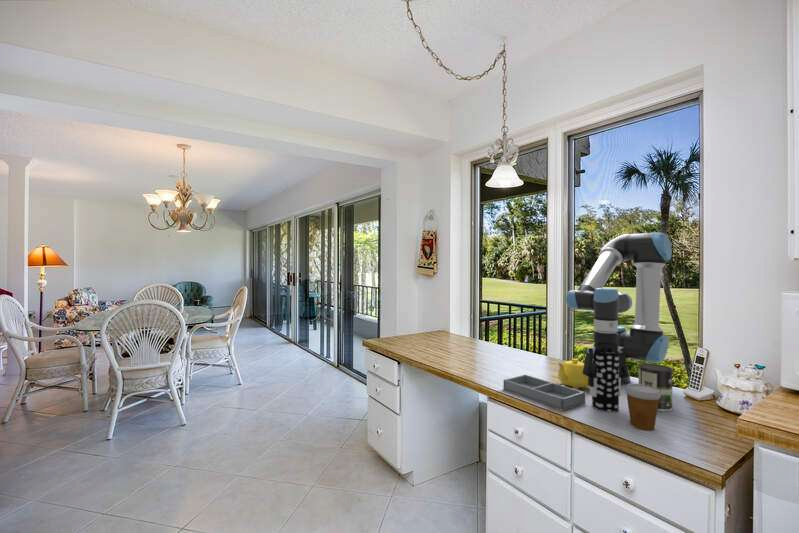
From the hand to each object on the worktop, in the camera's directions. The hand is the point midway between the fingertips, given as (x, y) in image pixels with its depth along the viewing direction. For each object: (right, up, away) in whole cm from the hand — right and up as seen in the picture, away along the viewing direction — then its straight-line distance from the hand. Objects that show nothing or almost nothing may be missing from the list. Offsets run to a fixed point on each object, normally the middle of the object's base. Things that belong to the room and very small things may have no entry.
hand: (605, 395), depth 134 cm
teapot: (0, -5, +22) cm, 23 cm away
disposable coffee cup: (+3, -5, -16) cm, 17 cm away
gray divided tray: (-18, -4, +11) cm, 22 cm away
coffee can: (+19, -5, +1) cm, 19 cm away
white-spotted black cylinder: (0, -5, 0) cm, 5 cm away
